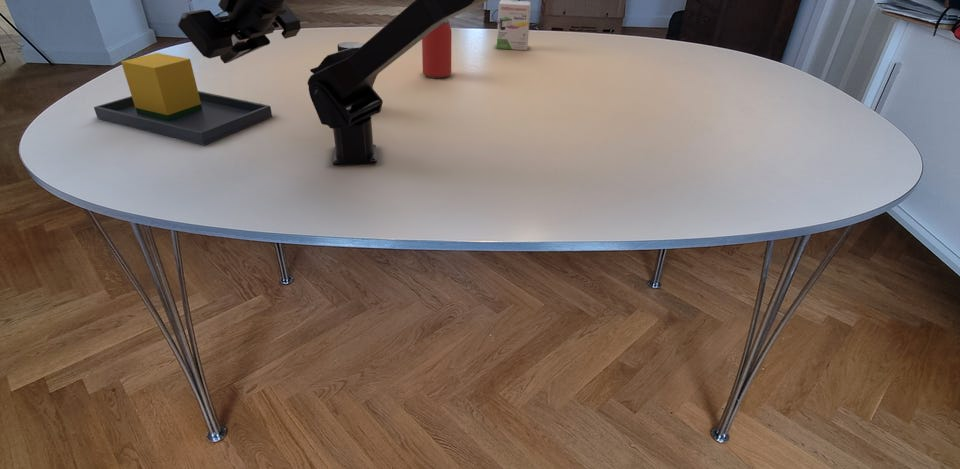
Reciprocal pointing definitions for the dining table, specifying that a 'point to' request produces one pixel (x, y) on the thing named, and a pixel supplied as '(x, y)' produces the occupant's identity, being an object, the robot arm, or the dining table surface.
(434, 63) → the beer can
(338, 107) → the robot arm
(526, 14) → the ink box
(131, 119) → the tray
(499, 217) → the dining table surface
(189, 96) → the sponge
